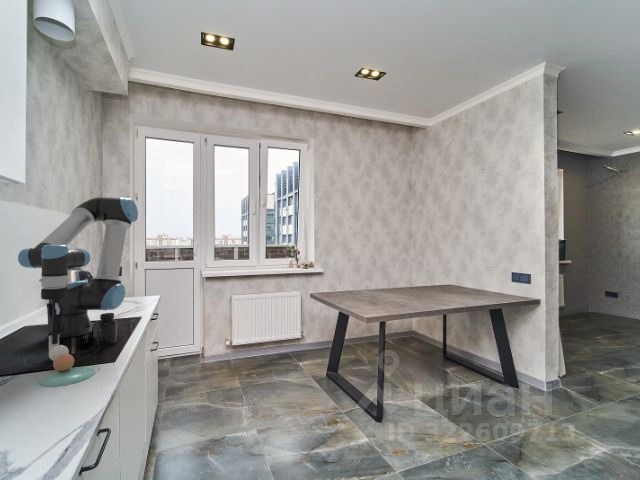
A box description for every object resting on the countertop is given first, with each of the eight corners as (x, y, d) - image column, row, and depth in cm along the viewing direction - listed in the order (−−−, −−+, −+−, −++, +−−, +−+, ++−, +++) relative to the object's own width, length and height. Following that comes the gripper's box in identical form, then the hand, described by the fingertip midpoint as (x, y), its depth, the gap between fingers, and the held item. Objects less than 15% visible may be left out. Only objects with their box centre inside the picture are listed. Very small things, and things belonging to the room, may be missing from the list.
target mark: (35, 376, 103) (35, 375, 103) (88, 364, 113) (88, 363, 113) (43, 391, 93) (43, 390, 93) (100, 376, 104) (100, 375, 104)
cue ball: (51, 346, 112) (51, 363, 111) (71, 343, 116) (70, 359, 115) (47, 346, 115) (46, 363, 114) (66, 344, 120) (65, 359, 118)
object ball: (52, 352, 106) (55, 365, 103) (73, 348, 110) (76, 360, 107) (51, 364, 108) (53, 377, 105) (71, 359, 112) (74, 372, 109)
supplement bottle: (120, 341, 137) (120, 313, 137) (103, 346, 131) (104, 316, 131) (109, 339, 140) (110, 311, 140) (93, 344, 134) (93, 314, 134)
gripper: (38, 286, 120) (37, 350, 120) (44, 290, 111) (43, 359, 111) (63, 284, 125) (63, 345, 126) (71, 288, 117) (70, 354, 117)
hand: (53, 352), depth 119 cm, fingers closed
